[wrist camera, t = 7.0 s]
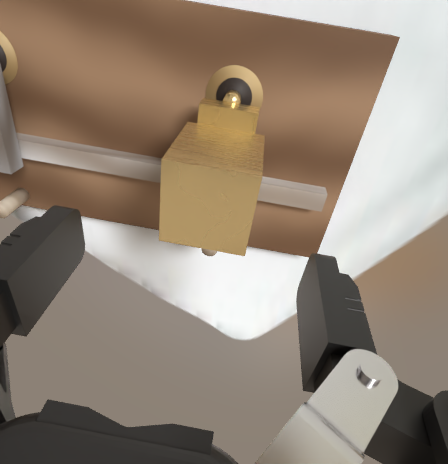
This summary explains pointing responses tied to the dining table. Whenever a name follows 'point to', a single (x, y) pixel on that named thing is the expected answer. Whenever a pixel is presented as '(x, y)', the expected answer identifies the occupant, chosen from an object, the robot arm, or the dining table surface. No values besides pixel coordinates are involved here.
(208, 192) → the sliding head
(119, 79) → the wooden slider board
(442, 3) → the dining table surface
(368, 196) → the dining table surface
